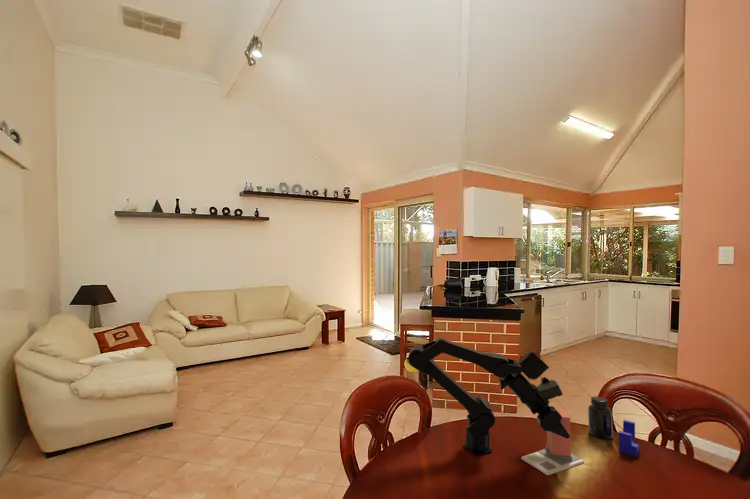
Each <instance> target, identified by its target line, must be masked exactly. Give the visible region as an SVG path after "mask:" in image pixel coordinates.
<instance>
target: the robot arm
mask: <svg viewBox="0 0 750 499" xmlns="http://www.w3.org/2000/svg"><path fill="white" fill-rule="evenodd" d="M441 354H444V355H445V354H446V355H447V356H452V357H453V358H456V359H459V360H463V361H466V362H468V363H471V364H474V365H477V366H478V367H481V368H482V369H484V370H485V371H486V372H488V373H490V374H491V375H494V376H496V377H497V378H498V380H499V381H498V386H499V387H500V390H504V389H505V388H506V387H507V388H509V389H510V390H511V391H512V393H514V395H515V396H516V397H517V398H518V399H519V400H520V402H521V403H522V404H523V405H525V406H526V407H527V408H528V409H529V411H530V412H531V413H532V415H536V414H538V415H536V421H537V423H538V425H539V426H540V427H541V428H542V429H543V431H545V432H547V431H550V432H553V433H555V434H557V435H560V436H562V437H564V438H567V439H568V438H569V437H570V438H571V434H570V435H569V434H568V432H567V431H566V429H565V428H564V426H563V425H562V424H561V419H562V416H561V415H560V413H559V412H558V411H557V408H556V407H554V406H550V400H551V399H554V398H557V397H561V396H563V391H562V389H561V387H560V385H559V384H558V382H557V381H556V380H555V379H549V378H548V377H546V376H544V377H541V376H542V375H543V374H544V373H545V372H546V371H547V370H549V369H550V367H549V365H547V363H546V362H544V360H542V358H540V357H539V356H538V355H537V354H535V352H533V351H532V350H529V351H528V352H526V354H525V356H523V357H522V358H521V359H520V360H519V361H518V360H517V359H512V358H507V357H506V356H505V355H503V354H501V353H498V352H497V353H496V352H487V351H486V352H484V351H480V350H477V349H475V348H471V347H468V346H465V345H463V344H460V343H457V342H455V341H452V340H448V339H446V338H445V337H438V338H437V339H435V340H433V341H429V342H426V343H424V344H422V345H414V346H413V347H412V348H411V349H410V350H409V354H408V357H407V359H408V364H409V365H410V366H411V367H412V368H414V369H415V370H417V371H419V372H420V373H422V374H425V375H427V376H428V377H430V378H431V379H432V380H433V381H434V382H436V383H437V384H438V385H439V386H440V387H441V388H443V390H445V391H446V392H447V393H448V394H449V395H450V396H452V397H453V399H455V400H456V401H457V402H458V403H459V404H461V405H462V406H463V407H464V408H465V409H466V412H467V413H468V414H467V415H466V420H467V425H468V426H467V427H466V428H465V437H466V438H465V440H466V441H465V443H464V444H462V447H463V448H464V449H466V450H468V452H470V453H471V454H472V455H474V456H475V457H476V456H477V457H478V456H481V455H486V454H489V453H492V452H493V449H492V448H491V446H490V441H491V440H490V437H491V436H490V429H491V428H493V426H494V425H495V423H496V417H495V414H494V410H493V408H492V406H491V403H490V401H488V400H486V399H485V398H484V397H483V396H482V395H481V394H480V393H479V394H477V396H475V395H473V394H471V393H470V392H469V391H468V390H466V388H464V387H463V386H462V385H461V384H460V383H459V382H457V380H455V379H454V378H453V376H451V375H450V374H448V373H447V372H446V371H445V370H444V369H443V368H442V367H441V366H439V365H438V363H436V361H435V360H434V359H435V358H436V357H438V356H439V355H441ZM523 374H524V375H525V376H526V377H527V378H526V377H525V376H524V375H523ZM539 377H541V379H540V383H539V385H537V386H536V385H535V384H533V383H531V382H530V381H529V380H532V381H534V380H535V381H536V380H537V379H538V378H539ZM528 379H529V380H528Z"/></svg>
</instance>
